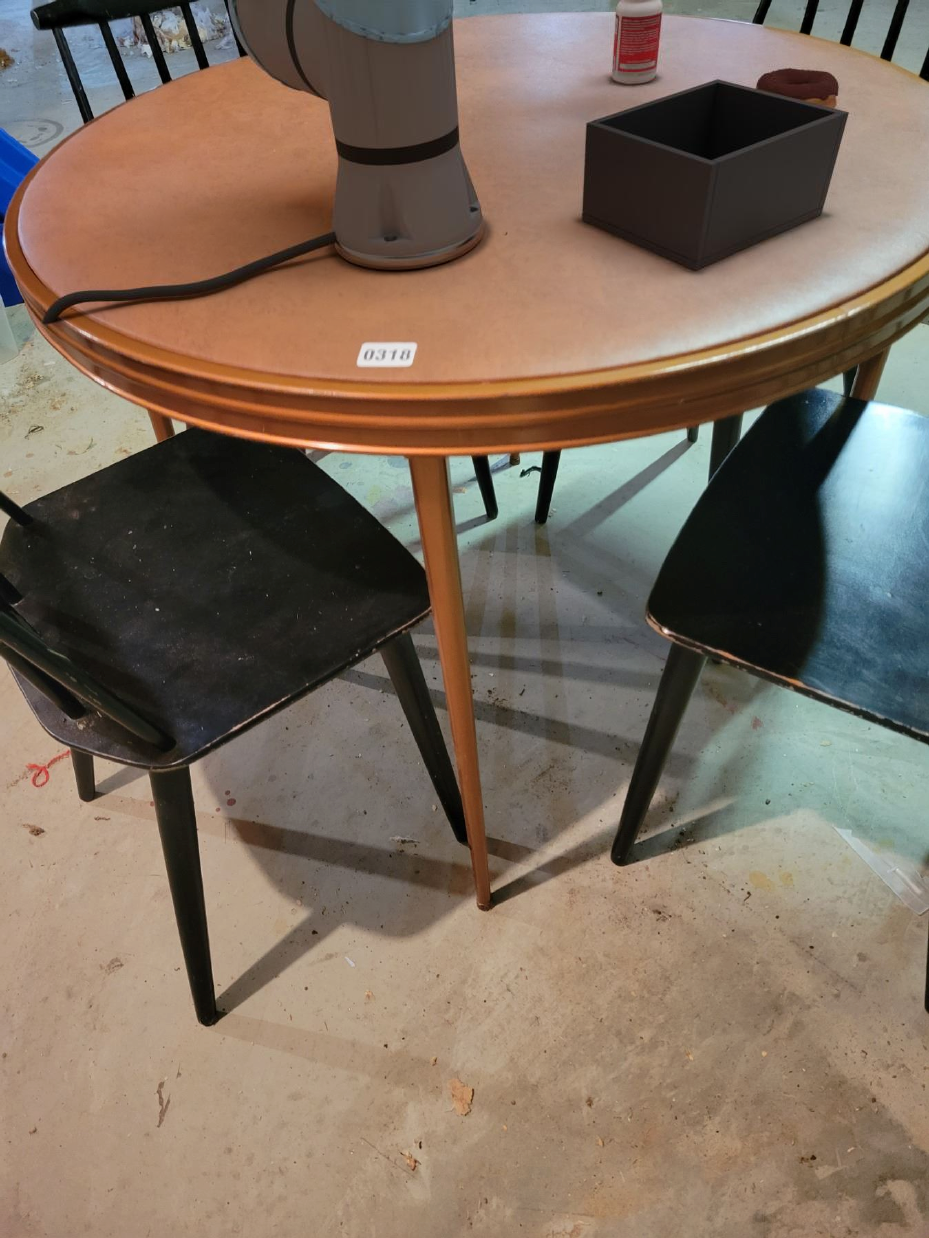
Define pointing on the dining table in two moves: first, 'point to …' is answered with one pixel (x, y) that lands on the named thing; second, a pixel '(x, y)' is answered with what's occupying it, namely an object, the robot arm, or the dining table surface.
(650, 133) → the storage bin
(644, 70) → the pill bottle
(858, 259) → the dining table surface
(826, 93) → the donut
